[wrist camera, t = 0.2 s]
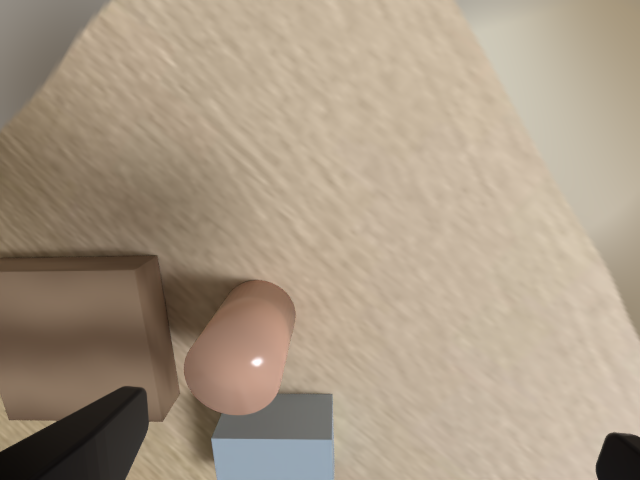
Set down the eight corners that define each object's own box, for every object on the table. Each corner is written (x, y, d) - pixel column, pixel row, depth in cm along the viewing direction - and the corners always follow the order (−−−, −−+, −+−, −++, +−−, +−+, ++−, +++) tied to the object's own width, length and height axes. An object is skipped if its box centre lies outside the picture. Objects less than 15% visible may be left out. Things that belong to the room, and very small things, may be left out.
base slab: (180, 393, 24) (162, 421, 22) (41, 392, 25) (8, 419, 22) (157, 255, 21) (134, 270, 19) (1, 258, 22) (-40, 272, 19)
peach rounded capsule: (297, 345, 23) (283, 415, 17) (227, 345, 23) (190, 415, 17) (293, 279, 21) (278, 330, 16) (220, 280, 22) (177, 331, 16)
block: (334, 461, 25) (333, 518, 21) (239, 460, 26) (222, 516, 22) (332, 391, 24) (331, 439, 20) (231, 391, 24) (211, 438, 20)
